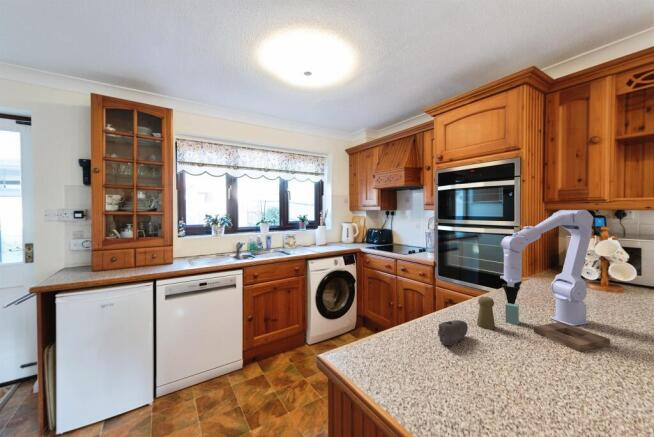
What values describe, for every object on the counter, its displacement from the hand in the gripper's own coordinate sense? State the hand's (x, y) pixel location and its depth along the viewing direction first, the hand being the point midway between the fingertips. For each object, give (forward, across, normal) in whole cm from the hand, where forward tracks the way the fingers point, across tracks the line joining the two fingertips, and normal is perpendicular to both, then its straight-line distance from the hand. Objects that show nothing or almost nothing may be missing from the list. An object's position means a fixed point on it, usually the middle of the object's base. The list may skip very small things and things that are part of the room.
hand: (512, 300), depth 104 cm
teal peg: (+8, 0, 0) cm, 8 cm away
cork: (+9, +11, -7) cm, 16 cm away
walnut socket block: (+8, +4, +17) cm, 19 cm away
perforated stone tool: (+9, +30, -14) cm, 35 cm away
